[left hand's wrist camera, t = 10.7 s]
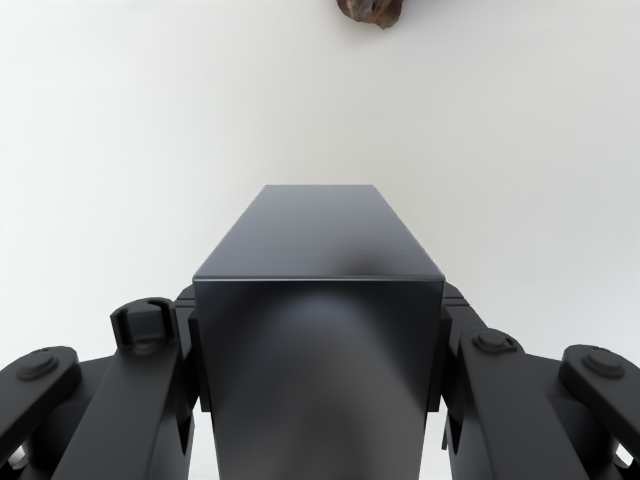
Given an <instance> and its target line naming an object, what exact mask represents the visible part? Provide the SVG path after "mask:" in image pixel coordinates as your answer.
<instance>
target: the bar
mask: <svg viewBox="0 0 640 480" xmlns="http://www.w3.org/2000/svg"><path fill="white" fill-rule="evenodd" d="M445 281H446V279H445V276H444V275H443V273H442V272H441V271H440V269H439V268H438V267H437V266H436V264H435V263H434V262H433V261H432V259H431V258H430V257H429V255H428V254H427V253H426V252H425V250H424V249H423V248H422V247H421V245H420V244H419V243H418V241H417V240H416V239H415V238H414V236H413V235H412V234H411V233H410V231H409V230H408V229H407V227H406V226H405V225H404V224H403V222H402V221H401V220H400V219H399V217H398V216H397V215H396V213H395V212H394V211H393V210H392V208H391V207H390V206H389V205H388V203H387V202H386V201H385V199H384V198H383V197H382V196H381V194H380V193H379V192H378V191H377V189H376V188H375V187H374V186H373V185H266V186H265V187H264V188H263V189H262V191H261V192H260V193H259V194H258V196H257V197H256V198H255V199H254V201H253V202H252V203H251V204H250V206H249V207H248V208H247V209H246V211H245V212H244V213H243V214H242V216H241V217H240V218H239V219H238V221H237V222H236V223H235V224H234V226H233V227H232V228H231V229H230V231H229V232H228V233H227V234H226V236H225V237H224V238H223V239H222V241H221V242H220V243H219V244H218V246H217V247H216V248H215V249H214V251H213V252H212V253H211V254H210V256H209V257H208V258H207V259H206V261H205V262H204V263H203V264H202V266H201V267H200V268H199V269H198V271H197V272H196V273H195V274H194V276H193V278H192V282H193V289H194V297H195V304H196V311H197V318H198V326H199V333H200V340H201V347H202V354H203V362H204V369H205V376H206V383H207V391H208V398H209V405H210V412H211V420H212V427H213V434H214V441H215V448H216V456H217V463H218V470H219V477H220V480H419V472H420V465H421V457H422V450H423V443H424V435H425V428H426V421H427V413H428V406H429V399H430V391H431V384H432V376H433V369H434V362H435V354H436V347H437V340H438V332H439V325H440V318H441V310H442V303H443V295H444V288H445Z"/></svg>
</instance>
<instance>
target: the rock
mask: <svg viewBox="0 0 640 480" xmlns="http://www.w3.org/2000/svg"><path fill="white" fill-rule="evenodd" d="M402 1H403V0H337V3H338V6H339V8H340V9H341V11H342V12H343V13H344V14H345V15H347V16H348V17H350V18H352V19H354V20H355V21H357V22H364V23H375V24H377V25H378V26H379V27H381V29H383V30H384V29H385V28H388V27H391V26H392V25H393V24H395V23H396V22H397V21H398V19H399V16H400V13H401V8H402Z"/></svg>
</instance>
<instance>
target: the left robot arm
mask: <svg viewBox="0 0 640 480" xmlns="http://www.w3.org/2000/svg"><path fill="white" fill-rule="evenodd" d="M110 319H111V323H112V327H113V331H114V335H115V339H116V343H117V350H116V352H115V354H114V355H113V356H109V357H104V358H99V359H94V360H89V361H84V362H79V360H78V356H77V353H76V351H75V350H74V349H72V348H71V347H65V346H57V347H47V348H42V349H41V350H40V349H39V350H36V351H33V352H31V353H29V354H27V355H25V356H23V357H20V358H19V359H17V360H15V361H14V362H12V363H11V364H9V365H8V366H6V367H5V368H4V369H2V370H1V371H0V480H188V473H189V466H190V458H191V450H192V443H193V435H194V428H195V424H194V417H193V408H194V406H195V404H196V401H197V399H198V397H199V398H200V404H201V411H202V412H210V405H209V398H208V391H207V383H206V376H205V369H204V362H203V354H202V347H201V340H200V333H199V326H198V318H197V311H196V304H195V297H194V289H193V284H192V285H190V286H188V287H187V288H185V289H184V290H183V291H182V292H181V293H180V295H179V296H178V297H177V300H175V301H174V302H173V301H171V300H170V299H166V298H162V297H151V298H145V299H139V300H136V301H133V302H130V303H127V304H125V305H123V306H122V307H120V308H118V309H116V310H115V311H114V312H113V313H112V314H111V315H110ZM441 394H442V397H443V399H444V401H445V404H446V406H447V408H448V411H447V417H446V423H445V429H444V435H443V441H442V449H443V450H446V449H447V443H448V450H449V457H450V465H451V472H452V480H640V369H639V368H638V367H637V366H636V365H634V364H633V363H631V362H630V361H628V360H627V359H625V358H623V357H622V356H620V355H618V354H615V353H613V352H611V351H609V350H607V349H604V348H599V347H597V346H590V345H580V344H579V345H572V346H569V347H568V348H567V349H565V350H564V354H563V357H562V361H559V360H554V359H549V358H544V357H539V356H534V355H530V354H526V353H525V351H524V350H523V348H522V346H521V345H520V344H519V343H518V341H517V340H515V339H514V338H512V337H511V336H509V335H508V334H506V333H503V332H501V331H498V330H496V329H491V328H488V327H487V326H486V325H485V323H484V322H483V321H482V320H481V318H480V317H479V316H478V315H477V313H476V312H475V311H474V309H473V308H472V307H471V306H470V304H469V303H468V302H467V301H466V299H464V297H463V296H462V294H461V293H460V292H459V290H458V289H457V288H455V287H454V286H452V285H451V284H449V283H447V282H446V281H445V288H444V295H443V303H442V310H441V318H440V325H439V332H438V340H437V347H436V354H435V362H434V369H433V376H432V384H431V391H430V399H429V406H428V412H439V406H440V399H441ZM619 444H621V445H622V446H623V447H624V448H625V449H626V450H627V451H628V452H629V453H630V455H631V456H632V457H633V461H632V463H631V465H630V466H628V465H627V464H625V463H624V462H623V461H622V460H621V459H620V458H619V457H618V455H617V454H616V451H617V449H618V446H619ZM21 445H22V448H23V450H24V453H25V456H24V457H23V458H22V459H21V460H20V461H19V462H18V463H17V464H16V465H14V466H13V467H11V466H10V465H9V462H8V459H9V458H10V457H11V455H12V454H13V453H14V452H15V451H16V450H17V449H18V448H19V447H20V446H21Z"/></svg>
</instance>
